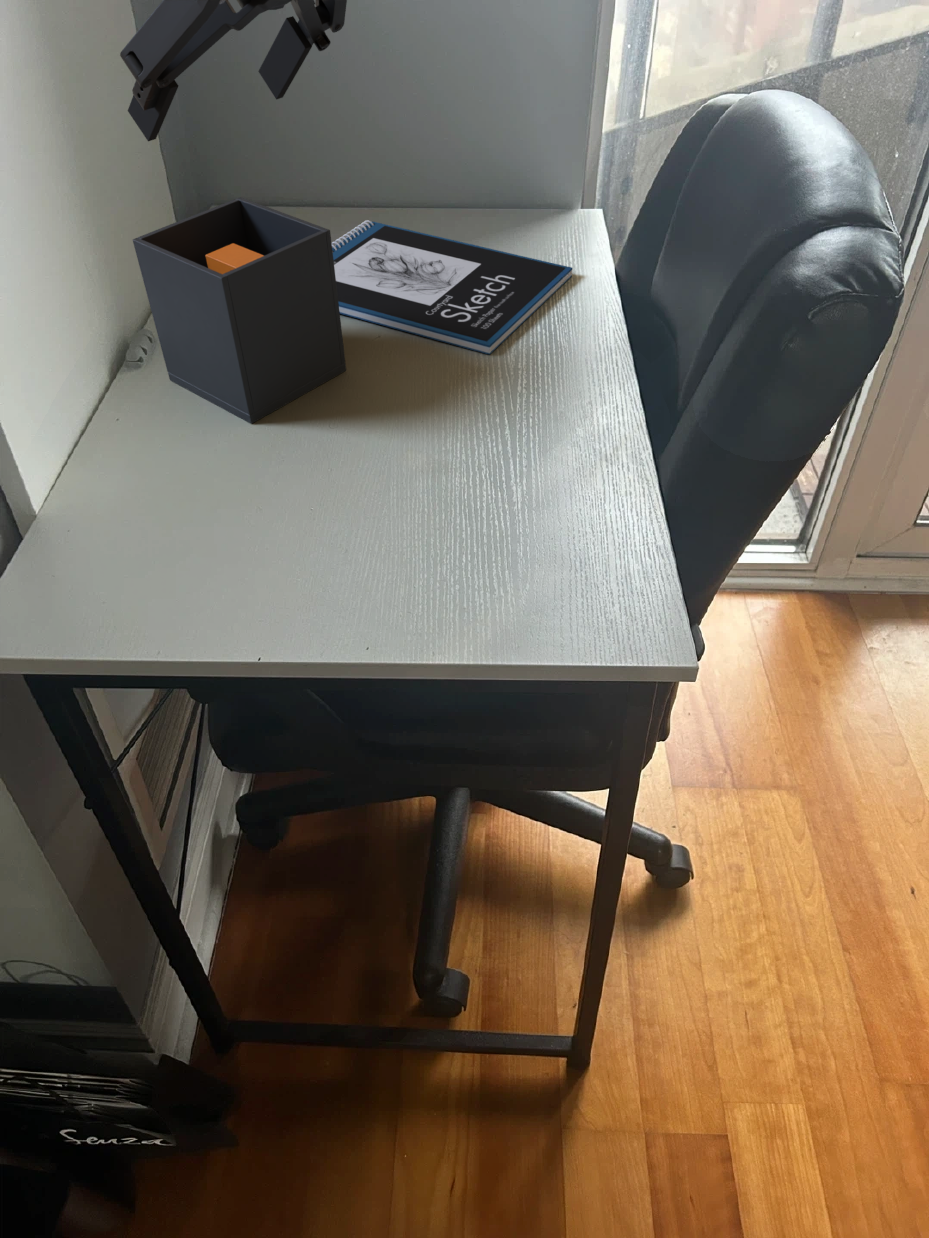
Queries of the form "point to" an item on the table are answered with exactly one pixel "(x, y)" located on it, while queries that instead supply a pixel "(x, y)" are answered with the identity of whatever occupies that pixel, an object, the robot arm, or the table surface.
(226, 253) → the block
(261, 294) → the bin
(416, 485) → the table surface
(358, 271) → the sketchbook
